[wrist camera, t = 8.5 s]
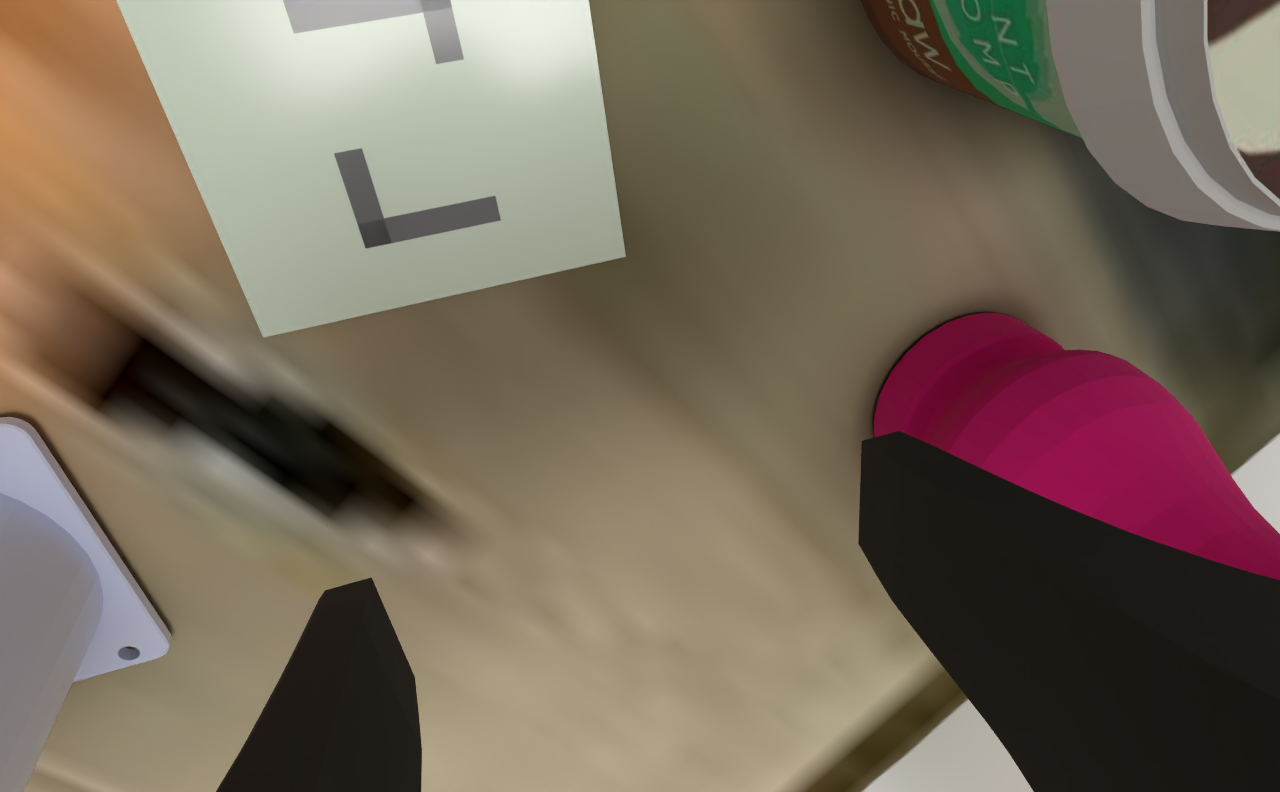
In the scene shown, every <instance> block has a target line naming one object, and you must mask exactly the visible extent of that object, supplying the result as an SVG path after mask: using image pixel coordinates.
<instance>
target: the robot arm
mask: <svg viewBox="0 0 1280 792" xmlns="http://www.w3.org/2000/svg"><path fill="white" fill-rule="evenodd" d="M859 545H860V547H861V549H862V550H863V552H864V554H865V556H866V558H867V559H868V561H869V563H870V565H871V566H872V568H873V570H874V572H875V573H876V575H877V577H878V578H879V580H880V582H881V583H882V585H883V587H884V588H885V590H886V591H887V593H888V595H889V596H890V598H891V600H892V601H893V602H894V604H895V605H896V606H897V608H898V609H899V610H900V612H901V613H902V614H903V616H904V617H905V618H906V620H907V621H908V622H909V623H910V625H911V626H912V627H913V629H914V630H915V631H916V632H917V634H918V635H919V636H920V638H921V639H922V640H923V642H924V643H925V644H926V645H927V647H928V648H929V649H930V651H931V652H932V653H933V654H934V656H935V657H936V658H937V659H938V661H939V662H940V663H941V665H942V666H943V667H944V668H945V670H946V671H947V672H948V673H949V675H950V676H951V677H952V679H953V680H954V681H955V682H956V684H957V685H958V686H959V687H960V689H961V690H962V691H963V693H964V694H965V695H966V696H967V698H968V699H969V700H970V701H971V703H972V704H973V705H974V707H975V708H976V709H977V710H978V712H979V713H980V714H981V715H982V717H983V718H984V719H985V721H986V722H987V723H988V724H989V726H990V727H991V729H992V730H993V731H994V733H995V734H996V735H997V737H998V738H999V739H1000V741H1001V742H1002V744H1003V745H1004V747H1005V748H1006V749H1007V751H1008V752H1009V754H1010V755H1011V757H1012V758H1013V760H1014V761H1015V763H1016V764H1017V766H1018V767H1019V769H1020V771H1021V772H1022V774H1023V775H1024V777H1025V779H1026V780H1027V782H1028V783H1029V785H1030V786H1031V788H1032V789H1033V791H1034V792H1280V580H1278V579H1274V578H1270V577H1267V576H1263V575H1259V574H1255V573H1252V572H1249V571H1245V570H1242V569H1239V568H1235V567H1232V566H1228V565H1225V564H1222V563H1219V562H1215V561H1212V560H1209V559H1206V558H1203V557H1200V556H1197V555H1194V554H1191V553H1188V552H1185V551H1182V550H1179V549H1176V548H1173V547H1170V546H1167V545H1164V544H1161V543H1158V542H1155V541H1153V540H1150V539H1147V538H1144V537H1142V536H1139V535H1136V534H1133V533H1131V532H1128V531H1125V530H1123V529H1120V528H1118V527H1115V526H1113V525H1110V524H1108V523H1105V522H1103V521H1100V520H1098V519H1095V518H1093V517H1090V516H1088V515H1085V514H1083V513H1080V512H1078V511H1075V510H1073V509H1071V508H1068V507H1066V506H1064V505H1061V504H1059V503H1057V502H1054V501H1052V500H1050V499H1047V498H1045V497H1043V496H1041V495H1038V494H1036V493H1034V492H1032V491H1029V490H1027V489H1025V488H1023V487H1020V486H1018V485H1016V484H1014V483H1012V482H1009V481H1007V480H1005V479H1003V478H1001V477H999V476H997V475H994V474H992V473H990V472H988V471H986V470H984V469H982V468H979V467H977V466H975V465H973V464H971V463H969V462H967V461H965V460H963V459H960V458H958V457H956V456H954V455H952V454H950V453H948V452H946V451H943V450H941V449H939V448H937V447H935V446H933V445H931V444H928V443H926V442H924V441H922V440H920V439H917V438H915V437H913V436H910V435H908V434H906V433H903V432H901V431H896V432H893V433H889V434H886V435H882V436H878V437H875V438H871V439H868V440H864V441H862V453H861V483H860V514H859ZM171 640H172V637H171V634H170V632H169V631H168V629H167V627H166V626H165V624H164V623H163V621H162V620H161V618H160V617H159V615H158V614H157V612H156V611H155V609H154V608H153V606H152V605H151V603H150V602H149V600H148V599H147V597H146V596H145V594H144V593H143V591H142V590H141V588H140V587H139V585H138V584H137V582H136V581H135V579H134V578H133V576H132V575H131V573H130V572H129V570H128V568H127V567H126V565H125V564H124V562H123V561H122V559H121V558H120V556H119V555H118V553H117V552H116V550H115V549H114V547H113V546H112V544H111V543H110V541H109V540H108V538H107V537H106V535H105V534H104V532H103V531H102V529H101V528H100V526H99V525H98V523H97V522H96V520H95V519H94V517H93V516H92V514H91V513H90V511H89V510H88V508H87V506H86V505H85V503H84V502H83V500H82V499H81V497H80V496H79V494H78V493H77V491H76V490H75V488H74V487H73V485H72V484H71V482H70V481H69V479H68V478H67V476H66V475H65V473H64V472H63V470H62V469H61V467H60V466H59V464H58V463H57V461H56V460H55V458H54V457H53V455H52V454H51V452H50V451H49V449H48V448H47V446H46V444H45V443H44V441H43V440H42V438H41V437H40V435H39V434H38V432H37V431H36V430H35V429H34V428H33V426H32V425H31V424H29V423H28V422H26V421H24V420H22V419H18V418H14V417H1V418H0V792H24V790H25V787H26V785H27V783H28V781H29V778H30V776H31V774H32V772H33V770H34V767H35V765H36V763H37V761H38V758H39V756H40V754H41V752H42V750H43V747H44V745H45V743H46V741H47V738H48V736H49V734H50V732H51V729H52V727H53V725H54V723H55V721H56V718H57V716H58V714H59V712H60V709H61V707H62V705H63V703H64V701H65V698H66V696H67V694H68V692H69V689H70V687H71V685H72V683H73V682H76V681H79V680H83V679H87V678H90V677H94V676H97V675H101V674H104V673H108V672H111V671H115V670H118V669H122V668H125V667H129V666H133V665H136V664H140V663H143V662H147V661H150V660H154V659H157V658H159V657H162V656H164V655H165V654H166V653H167V652H168V649H169V646H170V643H171ZM128 646H131V647H135V648H137V649H128V648H126V647H128ZM421 766H422V747H421V736H420V724H419V713H418V704H417V694H416V685H415V677H414V675H413V672H412V670H411V668H410V665H409V663H408V661H407V658H406V656H405V654H404V651H403V649H402V647H401V645H400V642H399V640H398V638H397V635H396V633H395V631H394V628H393V626H392V624H391V621H390V619H389V617H388V615H387V612H386V610H385V608H384V605H383V603H382V601H381V598H380V596H379V594H378V591H377V589H376V587H375V584H374V582H373V580H372V578H368V579H365V580H361V581H357V582H354V583H350V584H347V585H343V586H339V587H336V588H332V589H329V590H325V591H324V593H323V594H322V596H321V597H320V599H319V601H318V603H317V605H316V607H315V609H314V611H313V613H312V615H311V617H310V619H309V621H308V623H307V625H306V627H305V629H304V631H303V634H302V636H301V638H300V640H299V642H298V644H297V646H296V648H295V650H294V652H293V654H292V656H291V658H290V660H289V662H288V664H287V666H286V667H285V669H284V671H283V673H282V675H281V677H280V679H279V681H278V683H277V685H276V687H275V689H274V691H273V692H272V694H271V696H270V698H269V700H268V702H267V704H266V705H265V707H264V709H263V711H262V713H261V715H260V717H259V718H258V720H257V722H256V724H255V726H254V728H253V729H252V731H251V733H250V735H249V737H248V739H247V740H246V742H245V744H244V746H243V747H242V749H241V751H240V753H239V754H238V756H237V758H236V759H235V761H234V763H233V764H232V766H231V768H230V769H229V771H228V773H227V774H226V776H225V778H224V779H223V781H222V783H221V784H220V786H219V788H218V789H217V791H216V792H421Z"/></svg>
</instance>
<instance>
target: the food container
mask: <svg viewBox="0 0 1280 792" xmlns="http://www.w3.org/2000/svg"><path fill="white" fill-rule="evenodd" d="M861 2H862V4H863V6H864V9H865V11H866V14H867V16H868V19H869V20H870V22H871V23H872V25H873V27H874V28H875V30H876V31H877V33H878V35H879V36H880V38H881V39H882V41H883V42H884V43H885V44H886V45H887V47H888V48H889V49H890V50H891V51H892V52H893V53H894V54H895V55H896V56H897V57H898V58H899V59H900V60H901V61H902V62H903V63H905V64H906V65H908V66H909V67H911V68H912V69H914V70H915V71H916V72H918V73H919V74H921V75H923V76H925V77H928V78H930V79H933V80H935V81H938V82H940V83H943V84H945V85H948V86H950V87H953V88H955V89H958V90H960V91H963V92H965V93H968V94H970V95H973V96H975V97H978V98H981V99H983V100H986V101H988V102H991V103H993V104H996V105H998V106H1001V107H1003V108H1006V109H1008V110H1011V111H1013V112H1016V113H1018V114H1021V115H1024V116H1026V117H1029V118H1031V119H1034V120H1036V121H1039V122H1041V123H1044V124H1046V125H1049V126H1051V127H1054V128H1056V129H1059V130H1062V131H1064V132H1067V133H1069V134H1072V135H1074V136H1077V137H1079V138H1082V139H1083V140H1084V142H1085V144H1086V146H1087V148H1088V150H1089V151H1090V153H1091V154H1092V155H1093V156H1094V157H1095V159H1096V160H1097V161H1098V162H1099V164H1100V165H1101V166H1102V167H1103V169H1104V170H1105V171H1106V172H1107V173H1108V175H1109V176H1110V177H1111V178H1112V180H1113V181H1114V182H1115V183H1116V184H1117V185H1119V186H1120V187H1121V188H1123V189H1124V190H1125V191H1127V192H1128V193H1130V194H1131V195H1132V196H1134V197H1135V198H1136V199H1138V200H1139V201H1140V202H1142V203H1143V204H1144V205H1146V206H1147V207H1150V208H1152V209H1155V210H1157V211H1160V212H1162V213H1165V214H1167V215H1170V216H1172V217H1175V218H1177V219H1180V220H1184V221H1191V222H1198V223H1204V224H1211V225H1218V226H1228V227H1238V228H1249V229H1259V230H1269V231H1280V0H861Z"/></svg>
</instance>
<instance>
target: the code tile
mask: <svg viewBox="0 0 1280 792" xmlns="http://www.w3.org/2000/svg"><path fill="white" fill-rule="evenodd" d="M116 1H117V3H118V6H119V8H120V10H121V13H122V15H123V17H124V19H125V22H126V24H127V26H128V29H129V31H130V33H131V35H132V38H133V40H134V42H135V45H136V47H137V49H138V51H139V54H140V56H141V58H142V61H143V63H144V65H145V68H146V70H147V72H148V74H149V77H150V79H151V81H152V84H153V86H154V88H155V90H156V93H157V95H158V97H159V100H160V102H161V104H162V106H163V109H164V111H165V113H166V116H167V118H168V120H169V123H170V125H171V127H172V129H173V132H174V134H175V136H176V139H177V141H178V143H179V145H180V148H181V150H182V152H183V155H184V157H185V159H186V161H187V164H188V166H189V168H190V171H191V173H192V175H193V178H194V180H195V182H196V184H197V187H198V189H199V191H200V194H201V196H202V198H203V200H204V203H205V205H206V207H207V210H208V212H209V214H210V216H211V219H212V221H213V223H214V226H215V228H216V230H217V233H218V235H219V237H220V239H221V242H222V244H223V246H224V249H225V251H226V253H227V255H228V258H229V260H230V262H231V265H232V267H233V269H234V271H235V274H236V276H237V278H238V281H239V283H240V285H241V288H242V290H243V292H244V294H245V297H246V299H247V301H248V304H249V306H250V308H251V310H252V313H253V315H254V317H255V320H256V322H257V324H258V326H259V329H260V331H261V333H262V336H263V338H264V337H269V336H273V335H278V334H282V333H287V332H291V331H296V330H300V329H304V328H309V327H313V326H318V325H322V324H327V323H331V322H336V321H340V320H345V319H349V318H354V317H358V316H363V315H367V314H372V313H376V312H381V311H385V310H390V309H394V308H399V307H403V306H407V305H412V304H416V303H421V302H425V301H430V300H434V299H439V298H443V297H448V296H452V295H457V294H461V293H466V292H470V291H475V290H479V289H484V288H488V287H493V286H497V285H502V284H506V283H510V282H515V281H519V280H524V279H528V278H533V277H537V276H542V275H546V274H551V273H555V272H560V271H564V270H569V269H573V268H578V267H582V266H587V265H591V264H596V263H600V262H605V261H609V260H614V259H618V258H622V257H626V255H625V248H624V241H623V234H622V227H621V220H620V213H619V206H618V199H617V192H616V186H615V179H614V172H613V165H612V158H611V151H610V144H609V137H608V130H607V123H606V116H605V110H604V103H603V96H602V89H601V82H600V75H599V68H598V61H597V54H596V47H595V40H594V34H593V27H592V20H591V13H590V6H589V0H116Z"/></svg>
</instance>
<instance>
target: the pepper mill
mask: <svg viewBox="0 0 1280 792" xmlns="http://www.w3.org/2000/svg"><path fill="white" fill-rule="evenodd" d="M873 424H874V435H875V437H878V436H882V435H886V434H889V433H893V432H896V431H901V432H903V433H906V434H908V435H910V436H913V437H915V438H917V439H920V440H922V441H924V442H926V443H928V444H931V445H933V446H935V447H937V448H939V449H941V450H943V451H946V452H948V453H950V454H952V455H954V456H956V457H958V458H960V459H963V460H965V461H967V462H969V463H971V464H973V465H975V466H977V467H979V468H982V469H984V470H986V471H988V472H990V473H992V474H994V475H997V476H999V477H1001V478H1003V479H1005V480H1007V481H1009V482H1012V483H1014V484H1016V485H1018V486H1020V487H1023V488H1025V489H1027V490H1029V491H1032V492H1034V493H1036V494H1038V495H1041V496H1043V497H1045V498H1047V499H1050V500H1052V501H1054V502H1057V503H1059V504H1061V505H1064V506H1066V507H1068V508H1071V509H1073V510H1075V511H1078V512H1080V513H1083V514H1085V515H1088V516H1090V517H1093V518H1095V519H1098V520H1100V521H1103V522H1105V523H1108V524H1110V525H1113V526H1115V527H1118V528H1120V529H1123V530H1125V531H1128V532H1131V533H1133V534H1136V535H1139V536H1142V537H1144V538H1147V539H1150V540H1153V541H1155V542H1158V543H1161V544H1164V545H1167V546H1170V547H1173V548H1176V549H1179V550H1182V551H1185V552H1188V553H1191V554H1194V555H1197V556H1200V557H1203V558H1206V559H1209V560H1212V561H1215V562H1219V563H1222V564H1225V565H1228V566H1232V567H1235V568H1239V569H1242V570H1245V571H1249V572H1252V573H1255V574H1259V575H1263V576H1267V577H1270V578H1274V579H1278V580H1280V534H1279V533H1278V532H1277V531H1276V530H1275V529H1274V528H1273V527H1272V526H1271V525H1270V524H1269V523H1268V522H1267V521H1266V520H1265V519H1264V518H1263V517H1262V516H1261V515H1260V514H1259V513H1258V512H1257V511H1256V510H1255V509H1254V507H1253V506H1252V505H1251V503H1250V502H1249V501H1248V499H1247V498H1246V497H1245V495H1244V494H1243V492H1242V491H1241V489H1240V488H1239V487H1238V485H1237V484H1236V482H1235V481H1234V480H1233V478H1232V477H1231V475H1230V474H1229V472H1228V470H1227V469H1226V467H1225V466H1224V464H1223V462H1222V461H1221V459H1220V458H1219V456H1218V455H1217V453H1216V451H1215V450H1214V448H1213V447H1212V445H1211V444H1210V442H1209V440H1208V439H1207V437H1206V436H1205V434H1204V432H1203V431H1202V429H1201V428H1200V427H1199V425H1198V424H1197V422H1196V421H1195V420H1194V418H1193V417H1192V416H1191V415H1190V413H1189V412H1188V411H1187V410H1186V409H1185V408H1184V407H1183V406H1182V405H1181V404H1180V403H1179V401H1178V400H1177V399H1176V398H1175V397H1174V396H1173V395H1172V394H1171V393H1170V392H1168V391H1167V390H1166V389H1165V388H1164V387H1163V386H1162V385H1161V384H1159V383H1158V382H1156V381H1155V380H1154V379H1152V378H1151V377H1149V376H1148V375H1146V374H1145V373H1143V372H1142V371H1141V370H1139V369H1138V368H1136V367H1135V366H1133V365H1132V364H1130V363H1129V362H1127V361H1126V360H1123V359H1120V358H1118V357H1115V356H1113V355H1110V354H1106V353H1102V352H1098V351H1088V350H1064V349H1063V348H1062V347H1061V346H1060V345H1059V344H1058V343H1057V342H1055V341H1054V340H1052V339H1051V338H1049V337H1047V336H1046V335H1044V334H1042V333H1040V332H1039V331H1037V330H1035V329H1034V328H1032V327H1030V326H1029V325H1027V324H1025V323H1023V322H1022V321H1020V320H1018V319H1016V318H1014V317H1011V316H1009V315H1005V314H999V313H980V314H973V315H967V316H964V317H962V318H959V319H956V320H953V321H950V322H947V323H946V324H944V325H942V326H941V327H939V328H937V329H936V330H934V331H932V332H931V333H929V334H927V335H926V336H924V337H923V338H922V339H921V340H920V341H918V342H917V343H916V344H915V345H914V346H913V347H912V348H911V349H910V350H909V351H908V352H907V353H906V354H905V355H904V356H903V357H902V359H901V360H900V361H899V362H898V364H897V365H896V366H895V367H894V369H893V370H892V371H891V373H890V375H889V377H888V379H887V381H886V383H885V385H884V387H883V389H882V391H881V393H880V395H879V397H878V402H877V407H876V412H875V417H874V422H873Z"/></svg>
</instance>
